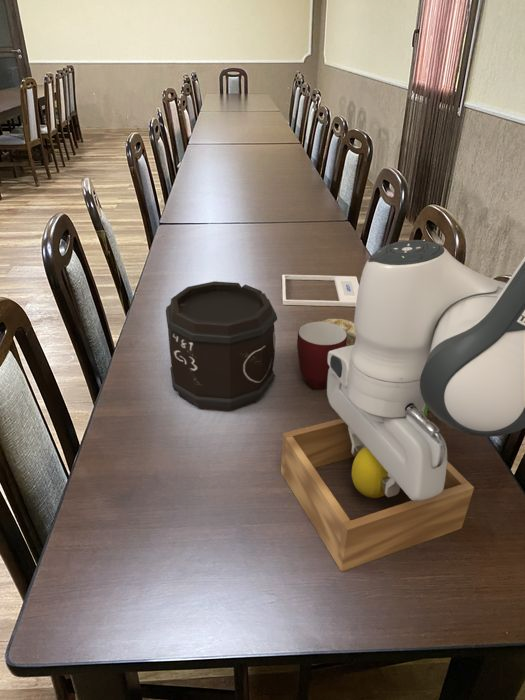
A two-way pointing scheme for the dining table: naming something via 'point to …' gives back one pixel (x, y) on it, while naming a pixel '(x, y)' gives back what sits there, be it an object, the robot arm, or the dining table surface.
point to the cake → (347, 326)
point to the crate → (374, 529)
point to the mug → (318, 350)
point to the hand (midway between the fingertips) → (373, 473)
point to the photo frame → (344, 287)
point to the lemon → (368, 474)
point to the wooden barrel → (221, 345)
